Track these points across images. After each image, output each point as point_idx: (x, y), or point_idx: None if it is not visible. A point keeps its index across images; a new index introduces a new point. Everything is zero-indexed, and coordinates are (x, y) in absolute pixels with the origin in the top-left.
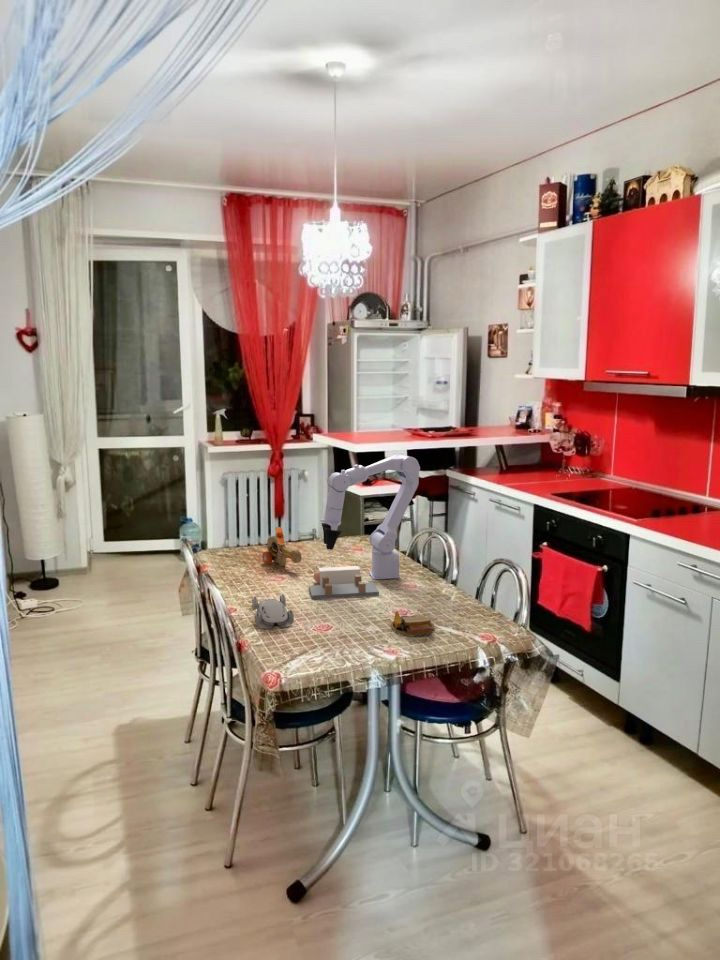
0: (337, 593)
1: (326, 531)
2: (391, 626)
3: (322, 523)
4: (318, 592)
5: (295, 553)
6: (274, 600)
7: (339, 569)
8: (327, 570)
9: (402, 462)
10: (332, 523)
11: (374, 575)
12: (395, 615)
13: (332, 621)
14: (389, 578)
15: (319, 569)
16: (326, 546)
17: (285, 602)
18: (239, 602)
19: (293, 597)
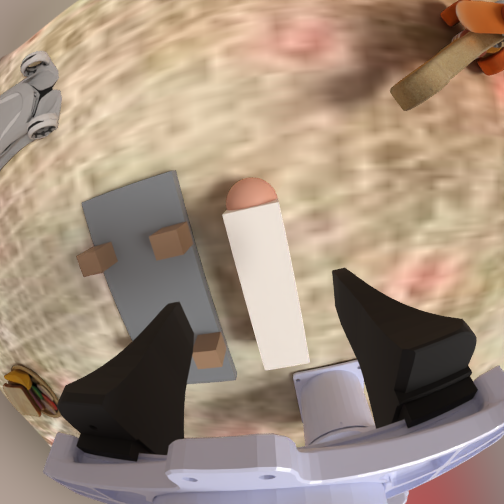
0: (112, 281)
1: (65, 392)
2: (16, 366)
3: (440, 349)
4: (108, 219)
5: (408, 76)
6: (16, 116)
7: (258, 300)
8: (239, 249)
9: None
10: (104, 492)
11: (313, 378)
12: (23, 382)
13: (3, 271)
14: (299, 405)
15: (252, 209)
16: (162, 310)
17: (35, 138)
18: (71, 16)
19: (96, 137)
